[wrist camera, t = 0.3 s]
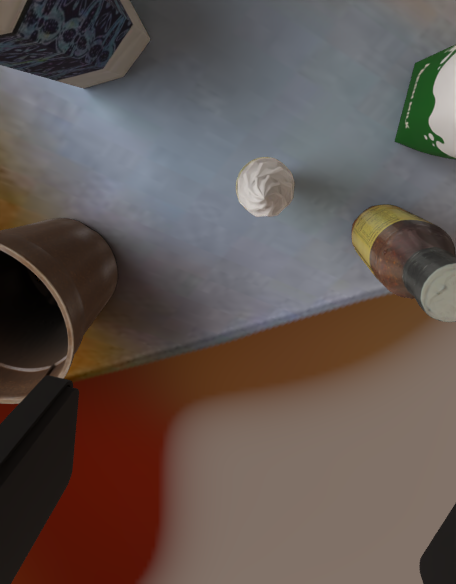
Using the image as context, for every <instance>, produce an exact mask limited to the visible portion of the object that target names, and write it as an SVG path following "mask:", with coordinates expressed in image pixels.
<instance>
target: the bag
mask: <svg viewBox="0 0 456 584" xmlns="http://www.w3.org/2000/svg"><path fill="white" fill-rule="evenodd" d="M150 40H151V39H150V37H149V35H148V33H147V32H146V30H145V28H144V26H143V24H142V22H141V20H140V19H139V17H138V15H137V13H136V11H135V9H134V7H133V6H132V4H131V2H130V0H0V65H3V66H6V67H10V68H13V69H17V70H20V71H24V72H27V73H31V74H34V75H38V76H41V77H45V78H49V79H52V80H56V81H59V82H63V83H66V84H70V85H73V86H77V87H80V88H87V87H90V86H94V85H97V84H101V83H104V82H108V81H111V80H115V79H118V78H122V77H124V76H125V74H126V73H127V72H128V70H129V69H130V67H131V66H132V65H133V63H134V62H135V61H136V59H137V58H138V56H139V55H140V54H141V52H142V51H143V50H144V48H145V47H146V45H147V44H148V43H149V41H150Z"/></svg>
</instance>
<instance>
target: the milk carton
mask: <svg viewBox="0 0 456 584" xmlns="http://www.w3.org/2000/svg"><path fill="white" fill-rule="evenodd" d="M395 142H397V143H400V144H402V145H405V146H407V147H410V148H412V149H415V150H417V151H420V152H423V153H427V154H431V155H435V156H440V157H444V158H450V159H456V45H454V46H451V47H449V48H447V49H445V50H443V51H440V52H438V53H436V54H434V55H432V56H430V57H428V58H425V59H423V60H421V61H419V62H417V63H415V65H414V69H413V73H412V77H411V81H410V85H409V88H408V92H407V96H406V100H405V104H404V108H403V111H402V115H401V119H400V123H399V127H398V131H397V134H396V138H395Z"/></svg>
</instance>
